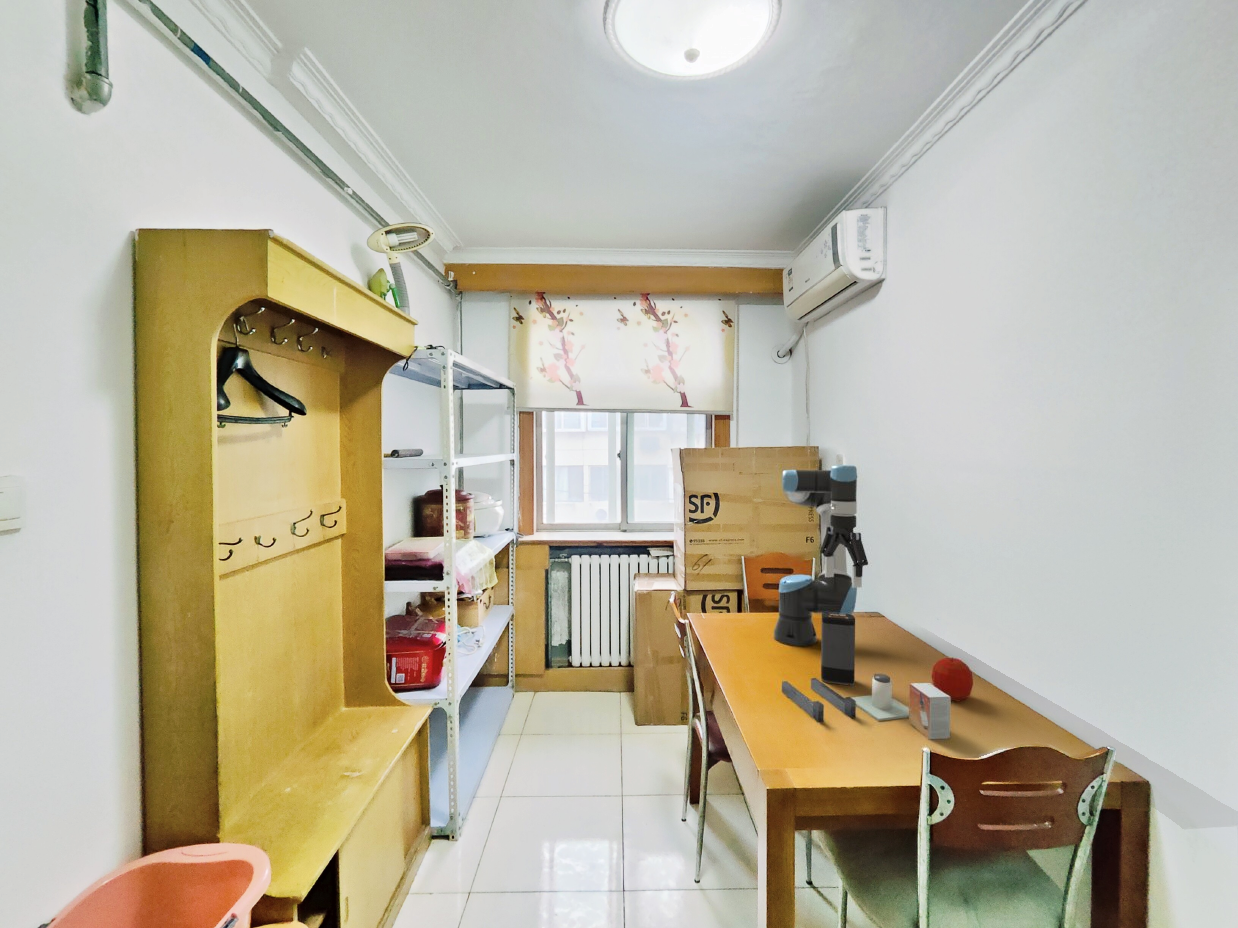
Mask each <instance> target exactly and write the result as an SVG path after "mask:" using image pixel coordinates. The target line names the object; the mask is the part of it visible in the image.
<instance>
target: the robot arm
mask: <svg viewBox="0 0 1238 928" xmlns="http://www.w3.org/2000/svg"><path fill="white" fill-rule="evenodd" d="M857 470H858V469H857V467H856V465H847V464H846V465H845V464H842V465H841V464H840V465H832V466H831V469H830V470H829V469H828V470H827V469H825V470H824V469H820V470H818V469H816V470H812V469H811V470H810V469H809V470H807V469H806V470H805V469H786V470H783V471H782V491H783V492H784V495H785V497H786V498H787V500H788V501H790V503H791V502H792V503H793V504H796V505H798V506H802V507H808V508H815V509H816V510H815V511H816V513H818V515H820V543H821V545H820V546H821V548H820V550H819V551H820V552H819V553H820V554H821V573H820V574H819V575H818V576H817V580H816V579H815V580H814V579H813V576H811V575H808V574H791V575H786V576H784V577H782V578H781V579H780V580H779V586H778V587H779V588H778V594H779V596H778V597H779V598H778V619H777V621H776V624H775V627H774V630H773V638H774V639H775V640H776V641H777V642H779V643H783V644H786V645H790V646H797V647H807V646H812V645H815V644H816V643H817V642H818V635H817V631H816V629H815V624H814V622H813V613H814V614H822V613H823V612H830V615H839V616H845V615H846V614H851V615H853V614H854V611H855V609H856V608H855V607H856V603H857V594H858V593H857V591H858V588H862V584H863V583H862V581H863V579H862V578H863V567H864V566H865V567H866V566H868V565H869V561H868V558H867V554H866V551H865V549H864V544H863V541H862V533H861V532H854V528H857V516H856V514H857V512H858V509H857V507H858V505H857V504H858V503H857V487H858V484H857V483H858V472H857ZM847 551H848V554H849V556H850V558H851V560H852V563H853V564H852V567H851V569H852V571H851V573H852V574H851V575H852V576H851V575H850V574H848V567H847V553H846V552H847Z"/></svg>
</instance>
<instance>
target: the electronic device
mask: <svg viewBox="0 0 1238 928" xmlns="http://www.w3.org/2000/svg"><path fill="white" fill-rule="evenodd" d="M820 632H821V640H820V641H821V643H820V645H821V646H820V647H821V649H820V652H821V654H820V656H821V658H820V676H821V677H820V679H821V681H822V682H824V683H827V684H828V683H829V684H837V685H843V686H844V685H845V686H854V685H855V672H856V671H855V668H856V667H855V665H856V664H855V661H856V618H855V616H854V615H853V614H846V615H840V616H839V615H833V614H830V612H823V613H821V630H820Z"/></svg>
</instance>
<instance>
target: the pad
mask: <svg viewBox="0 0 1238 928" xmlns="http://www.w3.org/2000/svg"><path fill="white" fill-rule="evenodd" d="M851 698H852V699H854V700H855V701H856V707H858V708H859V709H861V711H863V712H865V714H867V715H869V716H870V717H872V718H873V719H875V720H876V721H878V722H882V721H884V722H885V721H889V720H896V719H897V720H899V719H905V718H909V706H906V705H904V704H903V703H902V702H899V701H898V700H896V699H895V698H893V697H892V708H891V709H890V710H881V709H877V708H875V707H874V706H873V705H872V694H870V695H863V696H856V697H855V696H854V697H851Z"/></svg>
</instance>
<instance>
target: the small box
mask: <svg viewBox="0 0 1238 928" xmlns="http://www.w3.org/2000/svg"><path fill="white" fill-rule="evenodd" d="M908 699H909V701H908V702H909V703H908V708H909V717H908V723H909V724H910V725H911V726H912V727H914V729H916V730H917V731H918V732H920V733H921V735H923V736H924V737H926V739H927V740H943V739H946V740H947V739H950V736H951V733H950V732H951V731H950V729H951V708H952V707H951V702H952V700H951V697H950V696H949V695H946V694H945V693H943V692H942V691H940V690H939V689H937V688H936V687H935V686H934V685H933V683H930V682H922V683H921V682H919V683H915V682H914V683H909V698H908Z"/></svg>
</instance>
